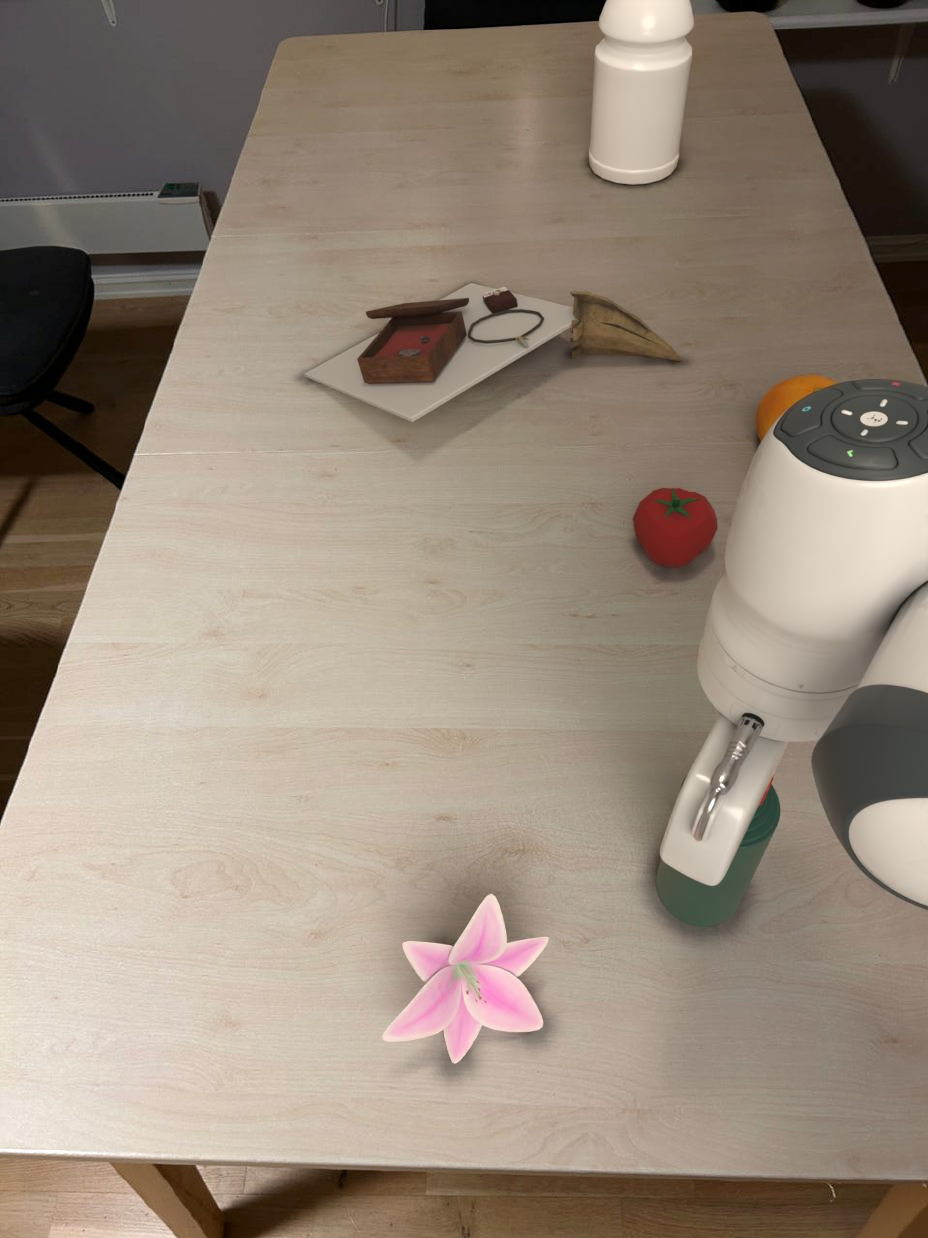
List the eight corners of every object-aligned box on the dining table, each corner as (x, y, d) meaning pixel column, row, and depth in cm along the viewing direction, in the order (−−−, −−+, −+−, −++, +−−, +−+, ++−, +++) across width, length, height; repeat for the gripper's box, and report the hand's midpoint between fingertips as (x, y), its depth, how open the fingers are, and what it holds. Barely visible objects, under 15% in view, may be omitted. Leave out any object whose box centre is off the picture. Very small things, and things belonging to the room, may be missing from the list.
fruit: (859, 477, 101) (881, 418, 94) (760, 481, 101) (776, 422, 95) (834, 414, 107) (853, 356, 101) (742, 418, 107) (755, 360, 101)
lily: (365, 1054, 68) (390, 1084, 59) (377, 886, 71) (402, 889, 62) (522, 1055, 70) (569, 1083, 61) (527, 893, 74) (572, 897, 65)
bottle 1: (578, 180, 144) (588, -32, 122) (598, 139, 152) (612, -66, 130) (669, 190, 141) (696, -25, 119) (685, 148, 149) (714, -61, 127)
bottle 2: (754, 871, 74) (810, 754, 59) (722, 943, 70) (772, 837, 56) (677, 832, 76) (712, 710, 62) (642, 899, 73) (671, 787, 58)
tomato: (666, 589, 92) (675, 538, 87) (614, 541, 96) (620, 490, 91) (726, 553, 95) (739, 502, 89) (673, 508, 99) (682, 457, 93)
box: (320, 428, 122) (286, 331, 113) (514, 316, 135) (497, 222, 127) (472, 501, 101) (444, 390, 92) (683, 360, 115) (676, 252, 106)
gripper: (771, 840, 43) (721, 945, 54) (902, 554, 53) (838, 691, 64) (645, 778, 45) (621, 891, 56) (795, 515, 56) (750, 653, 66)
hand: (738, 782), depth 60 cm, fingers closed on cap, 4 cm apart
